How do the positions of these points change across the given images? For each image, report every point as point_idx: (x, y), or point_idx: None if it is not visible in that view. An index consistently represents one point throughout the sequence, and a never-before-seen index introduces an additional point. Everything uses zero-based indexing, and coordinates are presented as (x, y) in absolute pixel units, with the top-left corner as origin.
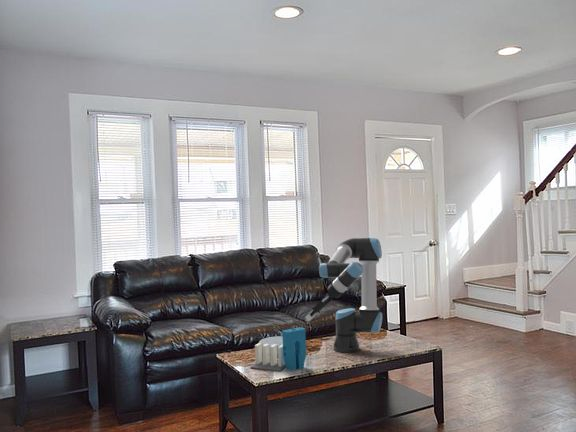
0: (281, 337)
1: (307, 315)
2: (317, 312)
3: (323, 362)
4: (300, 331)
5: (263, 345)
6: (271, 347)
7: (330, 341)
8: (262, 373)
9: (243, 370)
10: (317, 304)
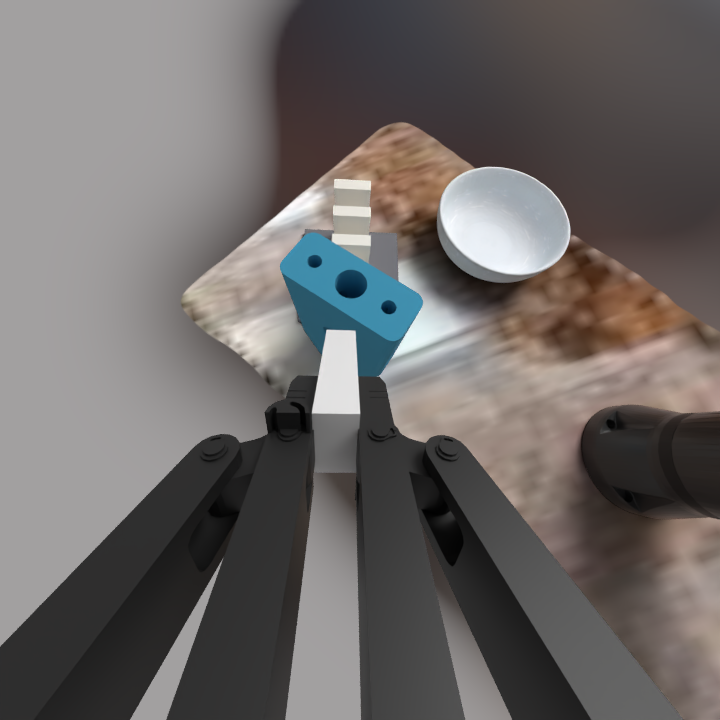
0: (559, 213)
1: (325, 347)
2: (344, 470)
3: (440, 426)
4: (358, 325)
5: (341, 206)
6: (332, 240)
7: (687, 364)
8: (270, 280)
9: (283, 222)
10: (6, 657)
